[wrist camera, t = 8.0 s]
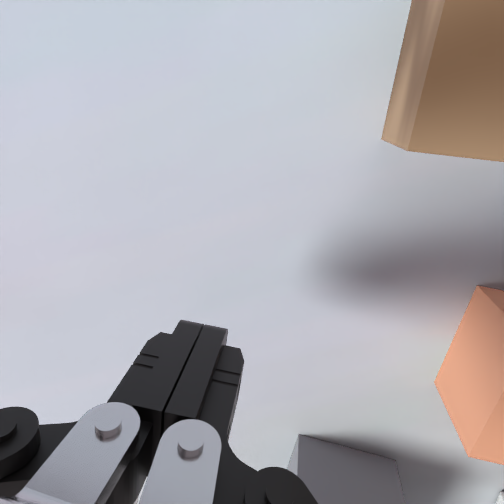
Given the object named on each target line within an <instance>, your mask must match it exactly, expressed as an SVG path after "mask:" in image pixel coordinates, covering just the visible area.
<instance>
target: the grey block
mask: <svg viewBox="0 0 504 504" xmlns="http://www.w3.org/2000/svg"><path fill="white" fill-rule="evenodd" d="M287 470H289V471H291V472H293V473H294V474H295V475H297V476H298V477H299V478H300V479H301V480H302V481H303V482H304V484H305V485H306V486H307V488H308V489H309V491H310V492H311V494H312V495H313V497H314V498H315V500H316V501H317V503H318V504H406V502H405V498H404V494H403V490H402V486H401V482H400V478H399V473H398V469H397V465H396V461H395V460H393V459H389V458H385V457H382V456H378V455H374V454H371V453H367V452H363V451H359V450H356V449H352V448H348V447H344V446H341V445H337V444H333V443H330V442H326V441H322V440H318V439H315V438H311V437H307V436H304V435H300V434H299V435H298V438H297V441H296V444H295V447H294V450H293V452H292V455H291V458H290V461H289V464H288V467H287Z"/></svg>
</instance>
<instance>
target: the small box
mask: <svg viewBox="0 0 504 504" xmlns="http://www.w3.org/2000/svg"><path fill="white" fill-rule="evenodd" d="M496 504H504V492H500V494H499V496H498V499H497V502H496Z"/></svg>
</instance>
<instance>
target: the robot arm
mask: <svg viewBox="0 0 504 504" xmlns="http://www.w3.org/2000/svg"><path fill="white" fill-rule="evenodd" d="M227 334H228V329H225V328H220V327H215V326H210V325H204V324H200V323H195V322H190V321H185V320H180V322H179V323H178V325H177V327H176V328H175V330H174V332H173V334H167V333H162V332H160V333H159V334H157V335H156V336H154V337H153V338H151V339H150V340H148V341H147V343H146V344H145V346H144V347H143V349H142V350H141V352H140V355H138V356H137V358H136V359H135V361H134V363H133V365H131V367H130V368H129V370H128V371H127V373H126V374H125V376H124V377H123V379H122V381H121V382H120V384H119V385H118V387H117V388H116V390H115V391H114V393H113V394H112V396H111V397H110V399H109V400H108V402H107V403H104V404H101V405H98V406H96V407H94V408H92V409H90V410H89V411H88V412H86V413H85V414H84V415H83V416H82V417H81V418H80V420H79V421H76V422H72V423H61V424H46V425H39V421H38V418H37V416H36V414H35V413H34V412H33V411H31V410H29V409H27V408H24V407H8V408H3V409H0V504H137V503H138V496H139V493H140V491H141V489H142V486H143V484H144V481H145V479H146V477H148V478H147V481H146V484H145V486H144V489H143V492H142V495H141V498H140V501H139V504H318V503H317V501H316V500H315V498H314V497H313V495H312V494H311V492H310V491H309V489H308V488H307V486H306V485H305V484H304V482H303V481H302V480H301V479H300V478H299V477H298V476H297V475H295V474H294V473H293V472H291V471H289V470H287V469H284V468H280V467H267V468H264V469H261V470H259V471H256V470H254V469H253V468H251V467H249V466H248V465H246V464H245V463H243V462H242V461H240V460H239V459H238V458H237V457H236V456H235V454H234V453H233V452H232V450H231V448H230V446H229V443H228V439H229V434H230V430H231V426H232V422H233V417H234V413H235V409H236V404H237V400H238V395H239V389H240V383H241V377H242V371H243V365H244V359H243V356H242V353H241V350H240V348H235V347H230V346H226V342H227Z"/></svg>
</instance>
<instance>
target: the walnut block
mask: <svg viewBox="0 0 504 504" xmlns="http://www.w3.org/2000/svg"><path fill="white" fill-rule="evenodd" d="M381 139H382V140H384V141H386V142H389V143H391V144H393V145H395V146H398V147H400V148H402V149H404V150H406V151H412V152H421V153H430V154H439V155H447V156H456V157H465V158H473V159H482V160H491V161H500V162H504V0H412V3H411V7H410V12H409V16H408V21H407V25H406V30H405V34H404V39H403V43H402V48H401V52H400V57H399V61H398V66H397V70H396V75H395V79H394V84H393V88H392V93H391V97H390V102H389V107H388V111H387V116H386V120H385V125H384V129H383V134H382V138H381Z"/></svg>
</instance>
